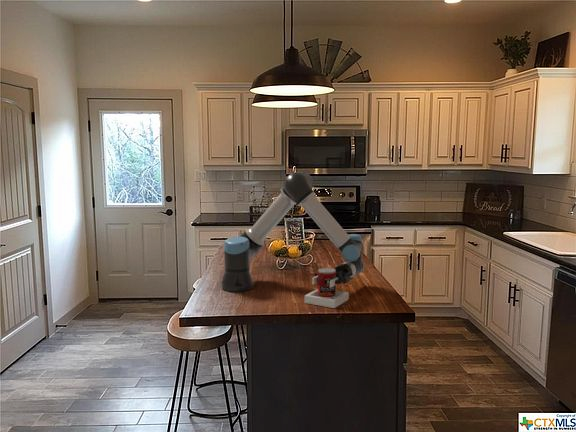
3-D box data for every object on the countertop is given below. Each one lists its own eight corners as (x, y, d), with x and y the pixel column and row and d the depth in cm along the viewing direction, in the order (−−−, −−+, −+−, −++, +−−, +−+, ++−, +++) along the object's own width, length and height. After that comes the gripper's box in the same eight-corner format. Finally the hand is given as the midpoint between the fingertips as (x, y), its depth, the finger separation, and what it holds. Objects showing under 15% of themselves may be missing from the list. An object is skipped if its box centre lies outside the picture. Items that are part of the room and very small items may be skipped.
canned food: (318, 297, 196) (319, 272, 194) (316, 292, 204) (316, 267, 202) (337, 297, 196) (337, 272, 195) (334, 292, 204) (334, 267, 203)
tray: (304, 302, 198) (304, 295, 198) (319, 294, 210) (320, 287, 209) (334, 308, 191) (334, 300, 190) (348, 299, 202) (348, 292, 202)
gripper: (365, 282, 209) (343, 295, 190) (324, 276, 220) (300, 287, 201) (365, 266, 208) (344, 277, 189) (324, 260, 219) (300, 270, 200)
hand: (321, 282), depth 195 cm, fingers closed on canned food, 8 cm apart
